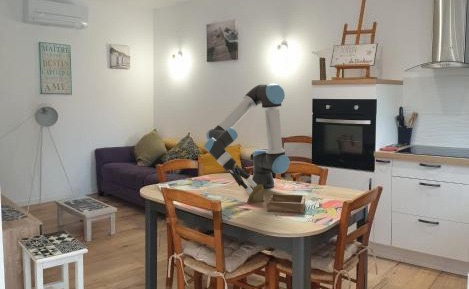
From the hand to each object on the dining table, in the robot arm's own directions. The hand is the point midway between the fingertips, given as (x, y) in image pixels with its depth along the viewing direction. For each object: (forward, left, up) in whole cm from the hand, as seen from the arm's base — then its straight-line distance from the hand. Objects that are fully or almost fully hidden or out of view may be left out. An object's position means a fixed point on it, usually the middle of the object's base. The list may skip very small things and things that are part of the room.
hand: (253, 189), depth 233 cm
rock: (-1, +1, -7) cm, 7 cm away
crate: (+9, +19, -7) cm, 22 cm away
